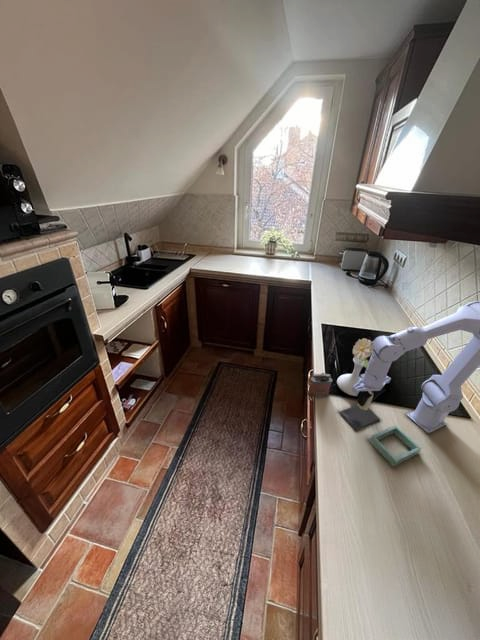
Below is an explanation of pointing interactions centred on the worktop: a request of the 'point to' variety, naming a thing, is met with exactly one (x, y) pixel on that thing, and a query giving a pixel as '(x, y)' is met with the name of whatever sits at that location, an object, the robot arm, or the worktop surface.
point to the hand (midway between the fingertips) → (364, 402)
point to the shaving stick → (367, 402)
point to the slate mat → (359, 417)
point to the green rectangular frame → (386, 453)
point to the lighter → (319, 385)
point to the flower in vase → (356, 366)
